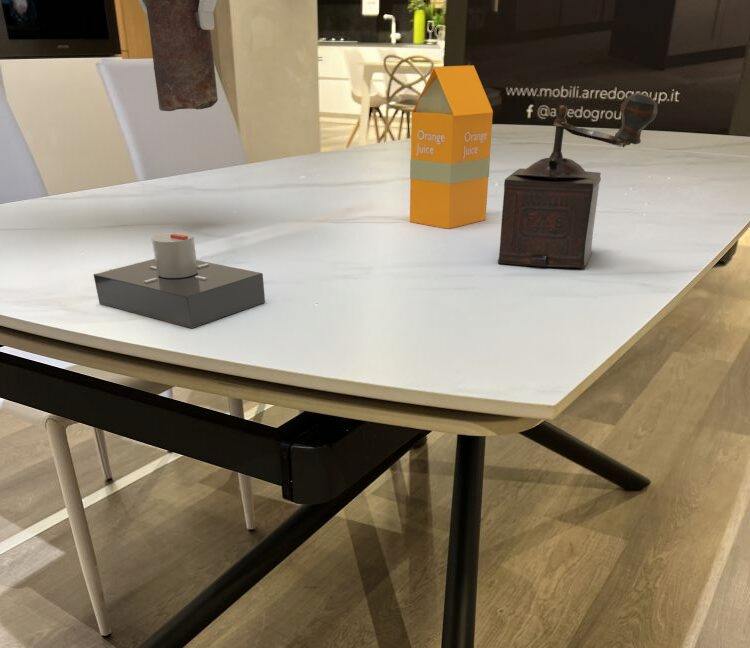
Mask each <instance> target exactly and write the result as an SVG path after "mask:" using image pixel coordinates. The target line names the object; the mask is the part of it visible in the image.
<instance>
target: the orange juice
mask: <svg viewBox="0 0 750 648" xmlns="http://www.w3.org/2000/svg"><path fill="white" fill-rule="evenodd" d="M423 87H424V88H423V89H422V91H421V94H420V95H419V98H418V99H417V102H416V104H415V106H414V107H413V110H412V111H411V117H410V119H411V121H410V126H411V127H410V159H409V160H410V163H409V164H410V165H409V168H410V170H409V179H410V183H409V184H410V187H409V188H410V189H409V190H410V191H409V198H410V199H409V223H413V224H420V225H425V226H430V227H436V228H441V229H447V230H449V229H455V228H458V227H462V226H466V225H470V224H475V223H479V222H483V221H486V220H487V219H486V218H487V204H488V191H489V190H488V189H489V177H490V167H491V166H490V165H491V164H490V163H491V144H492V129H493V116H494V111H493V107H492V106H491V103H490V101H489V98H488V96H487V94H486V91H485V89H484V86H483V84H482V81H481V79H480V76H479V75H478V71H477V70H476V67H475V65H473V64H472V65H447V66H446V65H443V66H433V69H432V71H431V73H430V75H429V77H428V79H427V81H426V83H425V85H424V86H423Z"/></svg>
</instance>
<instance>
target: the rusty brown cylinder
mask: <svg viewBox="0 0 750 648" xmlns="http://www.w3.org/2000/svg"><path fill="white" fill-rule="evenodd" d="M199 2H200V0H146V7H147V15H148V22H149V29H148V30H149V37H150V38H149V39H150V46H151V53H152V63H153V72H154V78H155V86H156V94H157V102H158V108H159V111H161V112H173V111H177V110H188V109H189V110H203V109H208V108H212V107H213V106H214V105H216V103H217V102H218V101H219V99H218V98H219V97H218V88H217V80H216V79H217V77H216V69H215V60H214V51H213V42H212V32H211V30H198V29H197V28H196V27H195V19H194V13H193V12H199V11H198V8H199Z"/></svg>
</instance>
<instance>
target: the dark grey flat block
mask: <svg viewBox="0 0 750 648" xmlns="http://www.w3.org/2000/svg"><path fill="white" fill-rule="evenodd" d="M196 261H197V268H198V273H197V274H195V275H193V276H189V277H184V278H163V277H160V276H158V275H157V269H156V263H155V258H152V259H149V260H145V261H141V262H137V263H133V264H129V265H124V266H121V267H117V268H113V269H109V270H106V271H101V272H98V273H94V274H93V279H94V280H93V281H94V284H95V289H96V293H97V299H98V303H99V304H100V305H103V306H107V307H111V308H114V309H118V310H122V311H126V312H130V313H134V314H137V315H141V316H143V317H149V318H152V319H156V320H160V321H163V322H167V323H171V324H174V325H178V326H182V327H185V328H189V329H194V328H197V327H199V326H203V325H205V324H208V323H210V322H214V321H217V320H219V319H222V318H226V317H228V316H230V315H233V314H236V313H240V312H242V311H245V310H247V309H251V308H253V307H256V306H259V305H263V304H265V303H266V295H265V294H266V293H265V284H264V273H263V272H259V271H253V270H248V269H243V268H238V267H234V266H228V265H223V264H218V263H213V262H208V261H203V260H198V259H196Z"/></svg>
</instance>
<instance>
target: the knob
mask: <svg viewBox="0 0 750 648" xmlns="http://www.w3.org/2000/svg"><path fill="white" fill-rule="evenodd" d="M151 244H152V248H153V250H152V251H153V256H154V259H155V263H156V269H157V275H158V276H160V277H163V278H184V277H189V276H193V275H195V274H197V273H198V268H197V261H196V260H197V254H196V247H195V246H196V245H195V239H194V235H193V234H190V233H186V232H167V233H161V234H157V235H155V236H152V237H151Z"/></svg>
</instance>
